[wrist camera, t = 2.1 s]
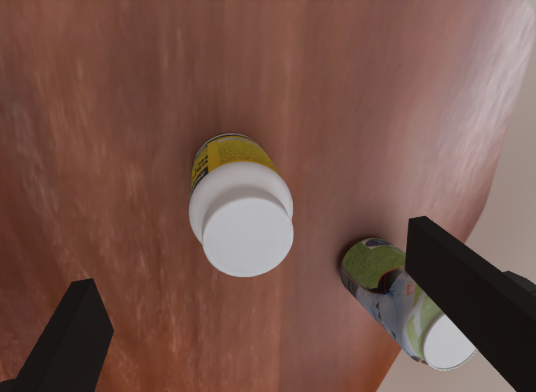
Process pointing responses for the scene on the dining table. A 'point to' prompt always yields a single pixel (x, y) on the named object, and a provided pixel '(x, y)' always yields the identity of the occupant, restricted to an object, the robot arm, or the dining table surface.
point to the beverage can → (403, 305)
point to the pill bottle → (240, 206)
